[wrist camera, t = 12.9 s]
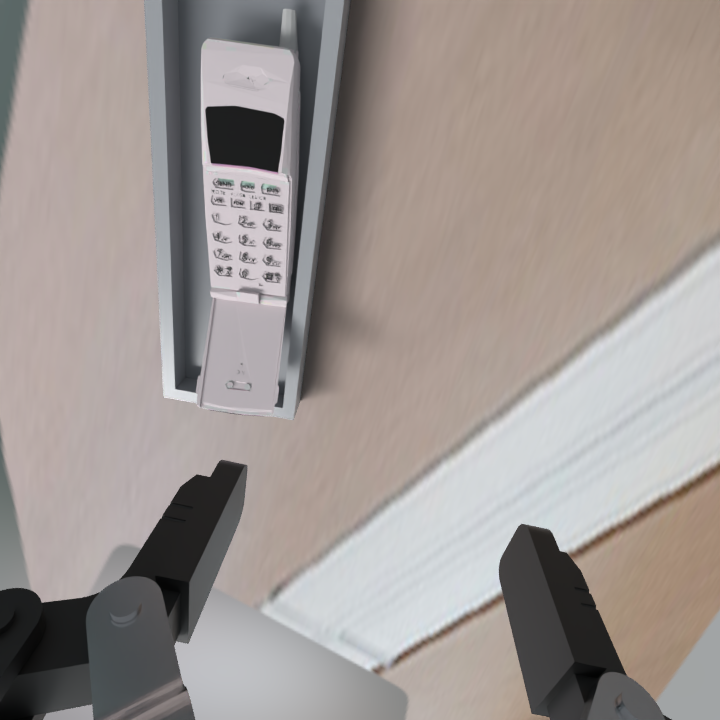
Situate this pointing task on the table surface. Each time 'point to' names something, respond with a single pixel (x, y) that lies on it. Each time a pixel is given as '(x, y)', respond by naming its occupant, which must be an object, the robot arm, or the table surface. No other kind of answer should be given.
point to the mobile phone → (249, 214)
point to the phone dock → (185, 170)
